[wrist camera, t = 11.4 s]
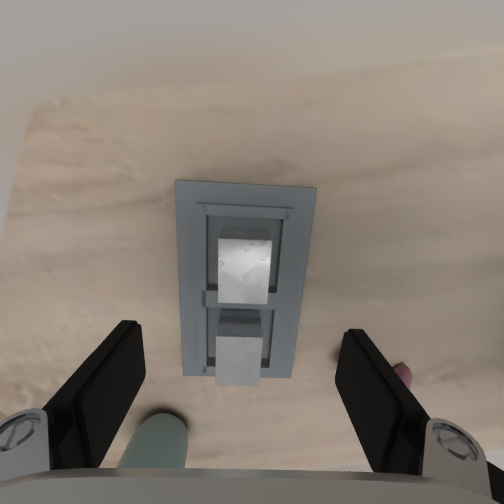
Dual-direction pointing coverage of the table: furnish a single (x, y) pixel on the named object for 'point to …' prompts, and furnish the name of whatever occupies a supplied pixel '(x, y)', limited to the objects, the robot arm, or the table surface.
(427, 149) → the table surface
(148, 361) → the table surface
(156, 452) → the cup
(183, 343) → the grey fixture tray
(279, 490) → the robot arm
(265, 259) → the billet
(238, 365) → the block
